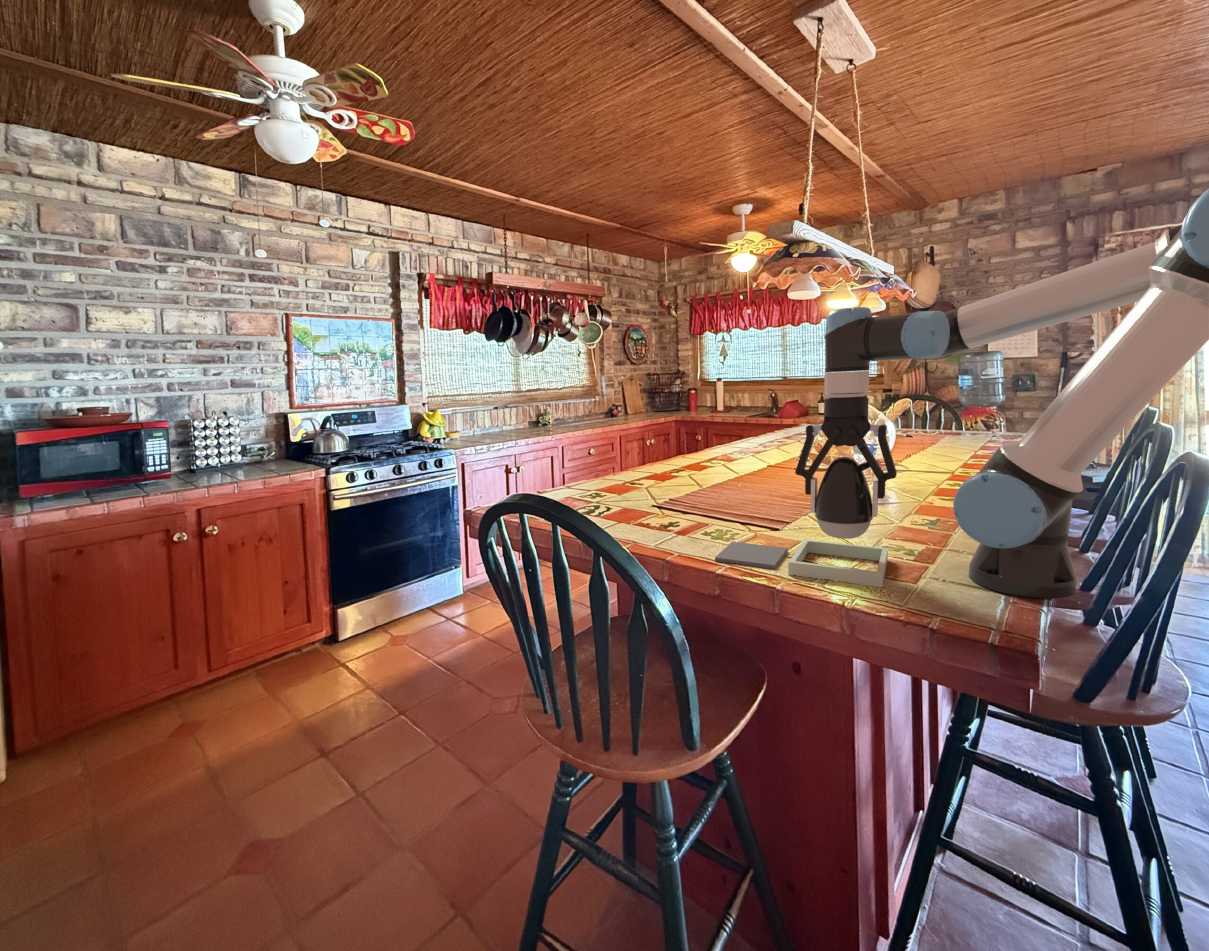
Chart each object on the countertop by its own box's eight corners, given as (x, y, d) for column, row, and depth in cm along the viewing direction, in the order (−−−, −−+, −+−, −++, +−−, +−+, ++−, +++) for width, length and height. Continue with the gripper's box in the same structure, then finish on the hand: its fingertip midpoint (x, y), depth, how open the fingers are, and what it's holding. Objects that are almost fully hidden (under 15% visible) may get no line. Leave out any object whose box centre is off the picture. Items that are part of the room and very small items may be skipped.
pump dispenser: (880, 543, 102) (882, 459, 99) (819, 542, 104) (820, 461, 101) (866, 528, 112) (867, 452, 109) (810, 528, 114) (811, 453, 111)
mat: (787, 551, 120) (787, 547, 120) (774, 569, 110) (774, 565, 109) (732, 544, 126) (732, 541, 125) (714, 561, 115) (714, 557, 115)
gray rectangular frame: (887, 560, 112) (888, 548, 112) (882, 587, 99) (882, 574, 98) (803, 550, 120) (804, 539, 120) (788, 574, 106) (788, 562, 106)
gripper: (916, 392, 101) (911, 513, 105) (787, 396, 112) (786, 505, 116) (916, 394, 95) (910, 522, 98) (778, 398, 106) (778, 513, 109)
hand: (843, 513), depth 107 cm, fingers closed on pump dispenser, 10 cm apart
